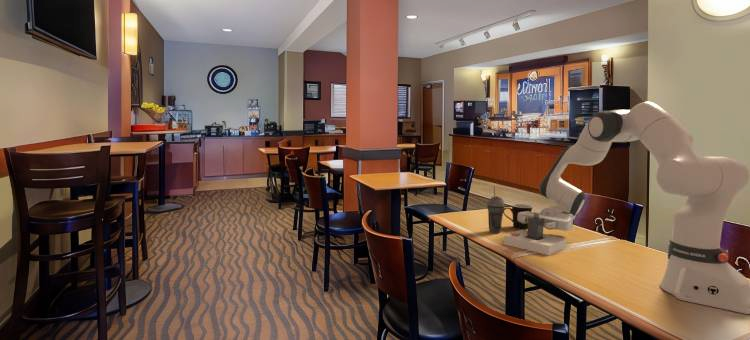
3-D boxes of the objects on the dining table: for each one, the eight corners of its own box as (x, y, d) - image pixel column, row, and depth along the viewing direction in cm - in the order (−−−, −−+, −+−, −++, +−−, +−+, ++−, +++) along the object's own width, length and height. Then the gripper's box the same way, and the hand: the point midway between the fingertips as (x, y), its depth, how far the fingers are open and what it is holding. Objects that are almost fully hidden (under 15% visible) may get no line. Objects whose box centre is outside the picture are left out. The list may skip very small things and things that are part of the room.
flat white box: (565, 247, 165) (566, 236, 164) (548, 255, 155) (549, 243, 155) (521, 237, 178) (522, 227, 177) (503, 244, 168) (504, 233, 168)
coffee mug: (534, 227, 194) (535, 206, 193) (525, 231, 188) (527, 208, 187) (509, 223, 202) (511, 202, 201) (501, 226, 196) (502, 204, 195)
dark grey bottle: (542, 246, 167) (544, 213, 165) (536, 248, 164) (538, 214, 162) (532, 243, 170) (534, 211, 168) (526, 245, 166) (528, 212, 165)
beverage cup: (504, 235, 182) (506, 188, 179) (486, 233, 183) (488, 187, 180) (502, 230, 189) (505, 185, 186) (485, 229, 190) (487, 184, 188)
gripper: (527, 206, 181) (510, 210, 172) (577, 214, 167) (561, 220, 157) (526, 221, 182) (509, 226, 173) (575, 230, 167) (560, 237, 158)
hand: (534, 223), depth 165 cm, fingers open, 8 cm apart
